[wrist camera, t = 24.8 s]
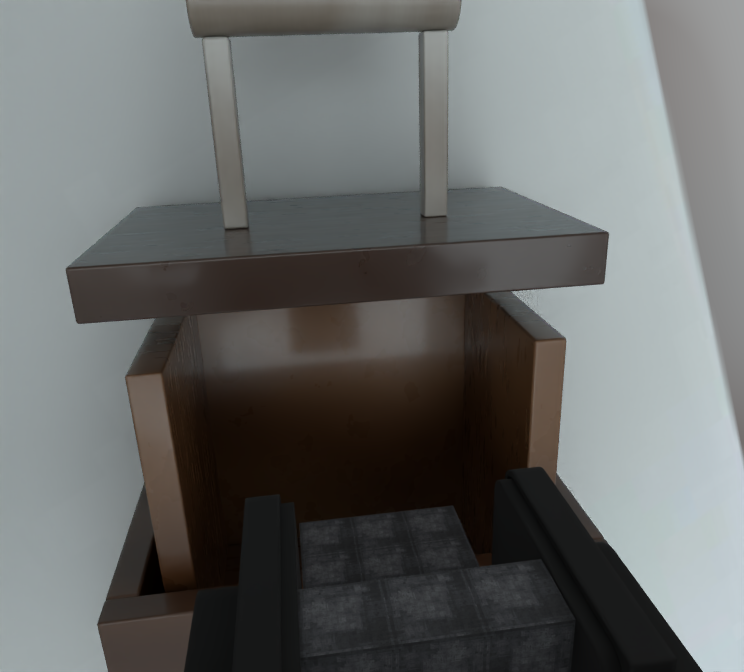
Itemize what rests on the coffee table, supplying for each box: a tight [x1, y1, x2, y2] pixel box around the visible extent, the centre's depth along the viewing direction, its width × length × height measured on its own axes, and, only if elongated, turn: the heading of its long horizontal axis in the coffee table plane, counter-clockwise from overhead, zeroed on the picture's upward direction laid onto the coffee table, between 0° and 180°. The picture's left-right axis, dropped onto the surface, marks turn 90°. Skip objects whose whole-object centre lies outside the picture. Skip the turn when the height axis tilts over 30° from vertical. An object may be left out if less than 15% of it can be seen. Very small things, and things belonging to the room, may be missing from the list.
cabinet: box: [97, 473, 608, 672], centre depth 22 cm, size 14×13×9 cm
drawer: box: [66, 0, 609, 593], centre depth 18 cm, size 18×11×7 cm, turn 2°
